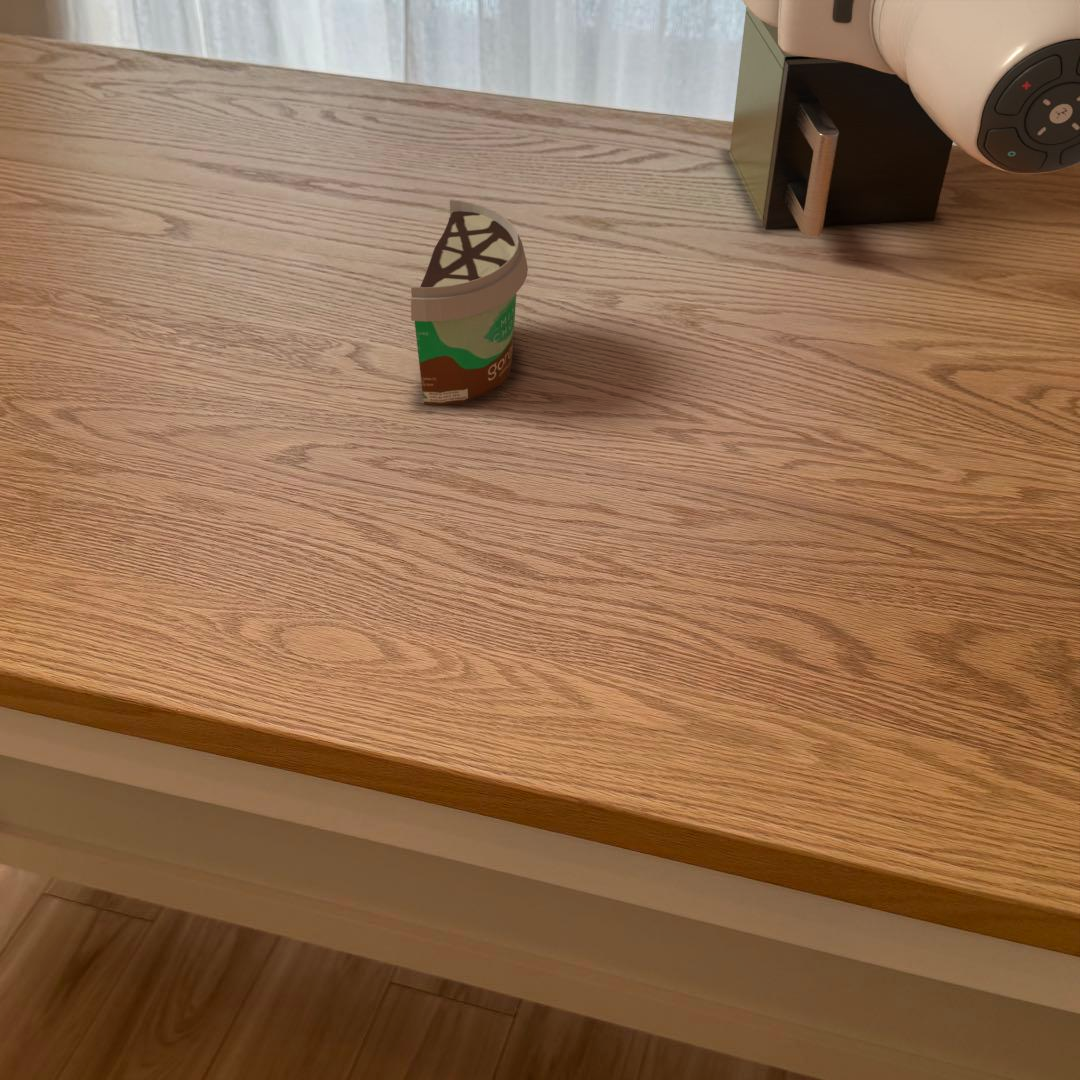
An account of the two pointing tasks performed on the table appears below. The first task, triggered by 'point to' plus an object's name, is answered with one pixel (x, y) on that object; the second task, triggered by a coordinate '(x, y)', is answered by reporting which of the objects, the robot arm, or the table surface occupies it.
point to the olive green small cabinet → (757, 106)
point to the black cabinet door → (851, 150)
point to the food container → (468, 306)
